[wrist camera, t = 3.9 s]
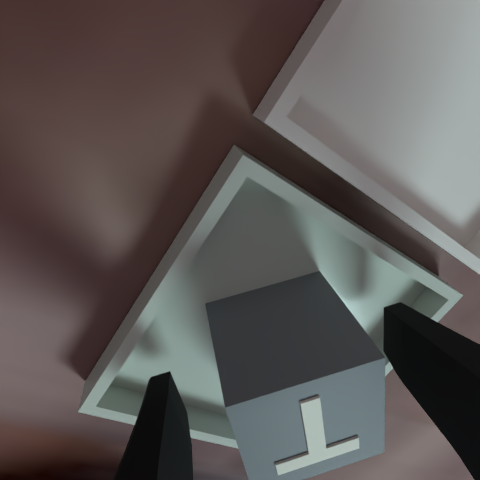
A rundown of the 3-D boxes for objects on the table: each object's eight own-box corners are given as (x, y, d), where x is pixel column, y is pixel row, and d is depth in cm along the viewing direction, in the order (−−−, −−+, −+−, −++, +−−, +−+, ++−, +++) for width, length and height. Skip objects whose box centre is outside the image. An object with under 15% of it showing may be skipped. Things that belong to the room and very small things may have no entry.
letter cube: (319, 270, 12) (387, 359, 9) (327, 353, 14) (385, 454, 10) (205, 303, 12) (225, 410, 8) (229, 383, 14) (254, 498, 10)
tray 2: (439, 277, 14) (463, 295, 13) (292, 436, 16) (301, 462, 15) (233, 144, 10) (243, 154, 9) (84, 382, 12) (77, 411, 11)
